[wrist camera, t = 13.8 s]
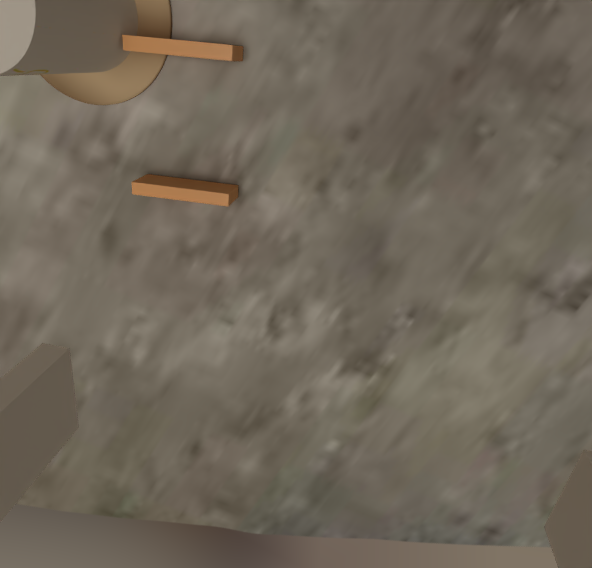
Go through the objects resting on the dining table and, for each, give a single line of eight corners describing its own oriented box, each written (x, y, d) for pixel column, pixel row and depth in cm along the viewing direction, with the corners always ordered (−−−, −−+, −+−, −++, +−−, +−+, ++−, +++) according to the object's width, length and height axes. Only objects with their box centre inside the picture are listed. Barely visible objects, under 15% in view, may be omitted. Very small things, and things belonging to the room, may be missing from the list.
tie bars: (141, 36, 36) (122, 34, 34) (243, 46, 36) (232, 45, 33) (148, 185, 41) (132, 194, 39) (238, 196, 40) (228, 206, 38)
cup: (17, 19, 37) (-130, 1, 26) (66, -81, 33) (-80, -149, 23) (103, 95, 38) (-3, 108, 27) (158, 6, 35) (62, -18, 24)
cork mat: (-6, -99, 34) (-10, -101, 34) (169, -87, 33) (167, -89, 32) (23, 96, 40) (20, 96, 39) (174, 112, 38) (172, 113, 38)
